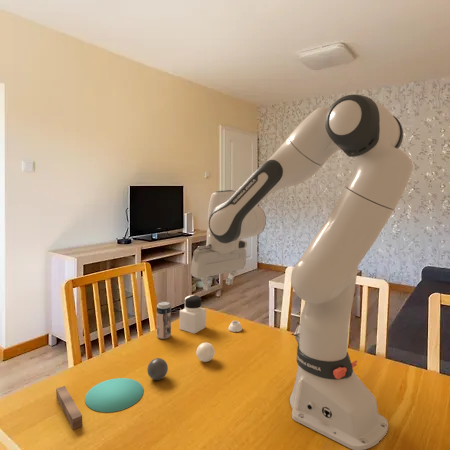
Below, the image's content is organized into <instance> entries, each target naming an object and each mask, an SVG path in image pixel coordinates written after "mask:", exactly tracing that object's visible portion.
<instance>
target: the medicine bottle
mask: <svg viewBox="0 0 450 450" xmlns="http://www.w3.org/2000/svg"><path fill="white" fill-rule="evenodd" d="M206 328H207V309H206V308H203V307H202V298H201V296H199V295H193V294H192V295H188V296H186V297H185V298H184V308H183V309H180V310H179V330H182V331H184V332H188V333H191V334H193V335H194V334H196V333H198V332H200V331H202V330H203V329H206Z"/></svg>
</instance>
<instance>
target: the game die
mask: <svg viewBox="0 0 450 450" xmlns="http://www.w3.org/2000/svg"><path fill="white" fill-rule="evenodd" d="M296 324H297V327H296V328H295V331H294V333H291V336H294V338H295V341H296V343H297V346H298V345H299V340H300V322H299V321H297V323H296Z"/></svg>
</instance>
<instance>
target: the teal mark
mask: <svg viewBox="0 0 450 450" xmlns="http://www.w3.org/2000/svg"><path fill="white" fill-rule="evenodd" d="M143 395H144V386H143V385H142V384H141V382H139V381H137V380H135V379H133V378H126V377H118V378H111V379H107V380H104V381H101V382H99V383H97V384H95V385H94V386H93V387H90V389H88V391H87V392H86V395H85V398H84V401H85V402H84V403H85V405H86V406H87V407H88V408H89V409H90V410H91V411H95V412H97V413H98V412H100V413H114V412H120V411H123V410H126V409H128V408H130V407H132V406H134V405H135V404H137V403H138V402H139V401H140V400H141V398H142V397H143Z"/></svg>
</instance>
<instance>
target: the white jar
mask: <svg viewBox="0 0 450 450" xmlns="http://www.w3.org/2000/svg"><path fill="white" fill-rule="evenodd" d="M227 329H228V331H229V332H233V333H238V332H241V331H242V330H243V327H242V324H241V323H240V321H238V320H232V321H231V323H230V324H229V326H228V328H227Z"/></svg>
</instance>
